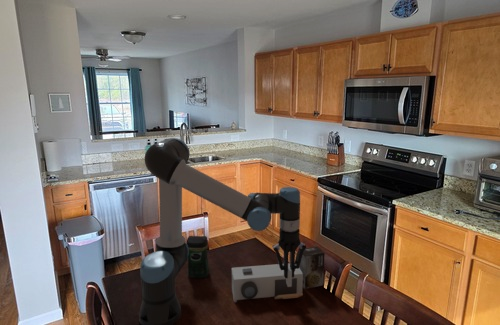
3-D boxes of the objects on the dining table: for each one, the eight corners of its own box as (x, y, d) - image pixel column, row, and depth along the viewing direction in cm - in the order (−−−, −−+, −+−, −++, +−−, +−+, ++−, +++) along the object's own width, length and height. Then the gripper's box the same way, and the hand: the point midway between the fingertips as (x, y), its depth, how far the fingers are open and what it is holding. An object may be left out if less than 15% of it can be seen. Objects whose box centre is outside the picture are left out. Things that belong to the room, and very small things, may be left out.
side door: (274, 301, 133) (278, 299, 126) (274, 297, 133) (278, 295, 126) (298, 299, 134) (303, 296, 127) (297, 295, 135) (302, 292, 128)
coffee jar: (210, 270, 156) (209, 233, 152) (207, 279, 148) (205, 241, 144) (190, 269, 157) (188, 232, 153) (185, 278, 149) (184, 240, 145)
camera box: (234, 306, 130) (234, 280, 128) (231, 289, 141) (231, 265, 138) (303, 299, 134) (304, 274, 132) (295, 283, 145) (296, 260, 143)
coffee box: (316, 279, 148) (317, 245, 145) (323, 287, 142) (325, 252, 139) (297, 283, 145) (298, 248, 142) (304, 291, 139) (305, 255, 136)
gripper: (274, 233, 121) (274, 291, 125) (309, 231, 122) (307, 288, 127) (270, 225, 128) (270, 281, 133) (303, 223, 130) (302, 278, 135)
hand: (288, 284), depth 130 cm, fingers closed
